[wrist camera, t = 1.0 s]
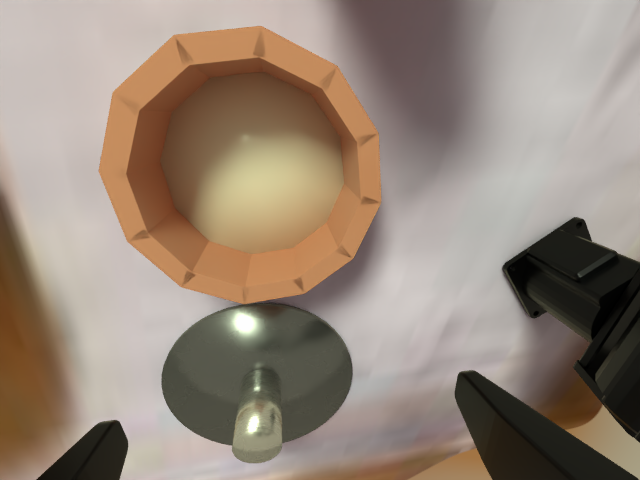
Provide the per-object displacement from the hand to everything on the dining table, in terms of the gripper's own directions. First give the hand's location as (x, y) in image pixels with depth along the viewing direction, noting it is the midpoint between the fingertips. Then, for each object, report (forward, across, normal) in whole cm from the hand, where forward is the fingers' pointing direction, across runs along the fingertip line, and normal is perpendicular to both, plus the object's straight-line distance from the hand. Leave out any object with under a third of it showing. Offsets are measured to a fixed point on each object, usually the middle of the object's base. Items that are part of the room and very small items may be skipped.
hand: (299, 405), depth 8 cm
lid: (+13, +3, +13) cm, 19 cm away
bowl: (+13, +1, -4) cm, 14 cm away
